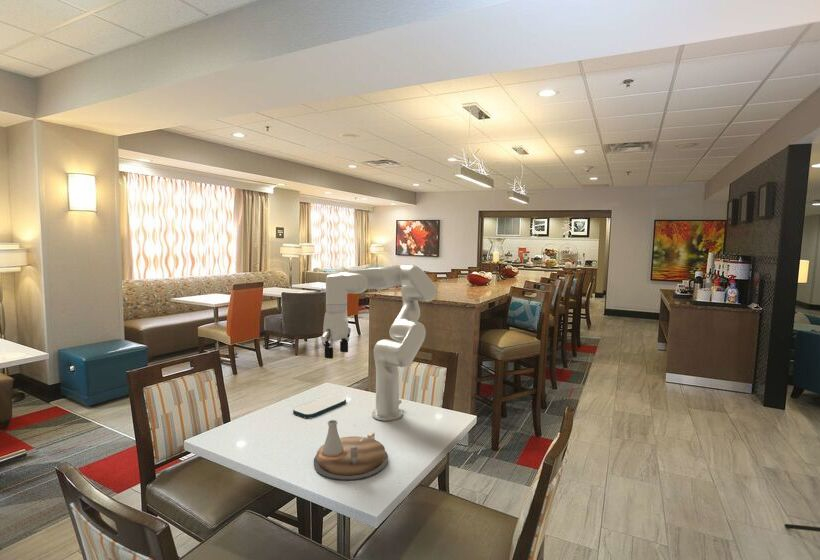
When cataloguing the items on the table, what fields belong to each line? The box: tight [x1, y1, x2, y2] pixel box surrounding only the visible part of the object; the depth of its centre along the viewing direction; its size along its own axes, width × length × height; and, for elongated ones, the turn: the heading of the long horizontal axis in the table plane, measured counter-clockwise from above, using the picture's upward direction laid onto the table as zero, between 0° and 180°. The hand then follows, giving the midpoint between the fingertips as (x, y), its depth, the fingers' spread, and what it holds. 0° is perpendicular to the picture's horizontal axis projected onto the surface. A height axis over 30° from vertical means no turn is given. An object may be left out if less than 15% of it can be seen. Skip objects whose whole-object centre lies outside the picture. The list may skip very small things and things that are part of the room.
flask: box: [322, 419, 344, 456], centre depth 139 cm, size 7×7×10 cm
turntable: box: [316, 435, 386, 475], centre depth 140 cm, size 22×22×7 cm
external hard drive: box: [292, 394, 347, 419], centre depth 186 cm, size 24×12×2 cm, turn 145°
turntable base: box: [313, 431, 389, 482], centre depth 141 cm, size 26×24×4 cm
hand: (336, 355), depth 157 cm, fingers open, 9 cm apart
